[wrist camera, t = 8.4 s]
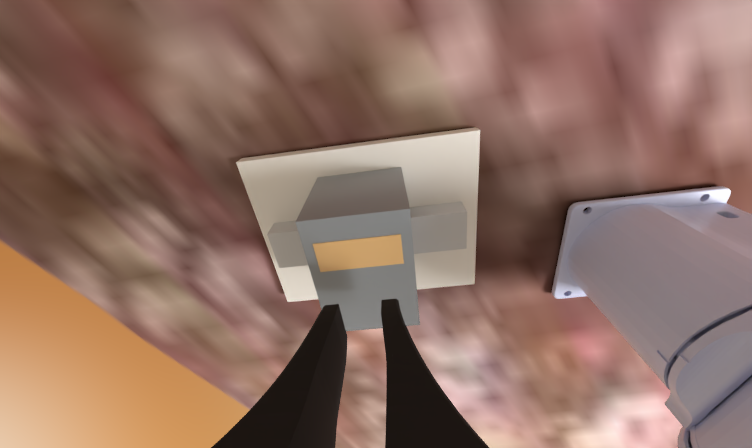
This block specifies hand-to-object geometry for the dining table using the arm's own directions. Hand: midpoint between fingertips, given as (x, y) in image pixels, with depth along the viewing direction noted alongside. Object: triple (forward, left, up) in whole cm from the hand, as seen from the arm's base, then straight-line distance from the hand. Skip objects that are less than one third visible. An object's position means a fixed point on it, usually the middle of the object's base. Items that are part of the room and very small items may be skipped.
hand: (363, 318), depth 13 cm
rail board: (0, 0, -8) cm, 8 cm away
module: (0, 0, -8) cm, 8 cm away
